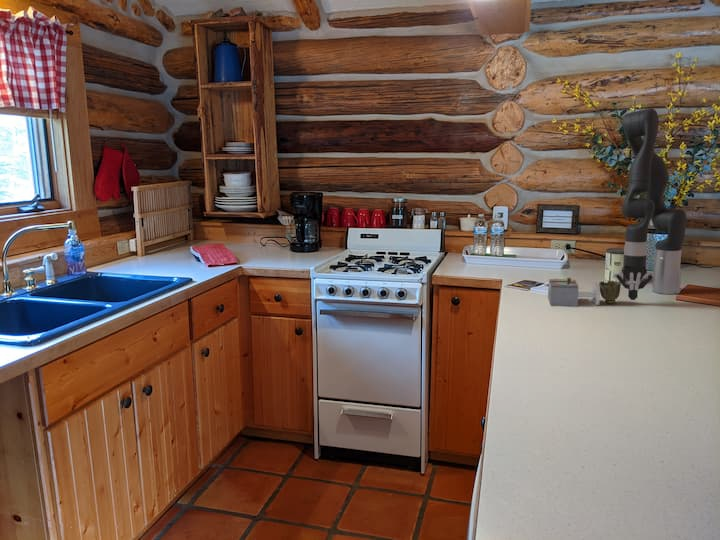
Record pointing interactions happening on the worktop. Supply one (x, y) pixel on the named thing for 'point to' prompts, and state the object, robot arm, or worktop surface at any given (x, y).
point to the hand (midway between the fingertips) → (632, 299)
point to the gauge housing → (562, 293)
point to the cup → (610, 291)
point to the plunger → (591, 293)
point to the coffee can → (614, 264)
